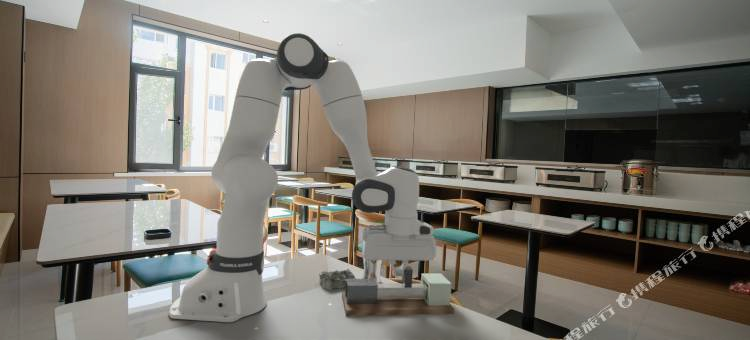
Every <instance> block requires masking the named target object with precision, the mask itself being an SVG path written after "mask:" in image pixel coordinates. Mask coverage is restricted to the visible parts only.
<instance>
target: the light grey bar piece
mask: <svg viewBox="0 0 750 340" xmlns="http://www.w3.org/2000/svg"><path fill="white" fill-rule="evenodd" d="M413 273H414V270H413V268H412V266H410V265H407V267H406V268H405V270H404V275H403V276H401V283H379V284H377V285H378V292H377V299H393V298H427V297H428V284H427V283H421V282H420V283H413Z"/></svg>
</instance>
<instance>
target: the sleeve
mask: <svg viewBox="0 0 750 340" xmlns="http://www.w3.org/2000/svg"><path fill="white" fill-rule="evenodd" d="M344 292H345V298H346V303H347V304H377V292H378V285H377V283H376V280H375V279H362V278H356V279H346V286H345V290H344Z"/></svg>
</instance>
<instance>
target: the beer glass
mask: <svg viewBox="0 0 750 340" xmlns="http://www.w3.org/2000/svg"><path fill="white" fill-rule="evenodd" d="M362 240H363V239H362ZM363 243H364V240H363V242H362V244H363ZM362 260H363V261H362V263H363V275H362V278H361V279H375V280H376V283H377V284H381V283H382V281H381V280H382V279H381V269H382V263H383V260H365V258H364V257H363V256H362Z"/></svg>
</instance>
